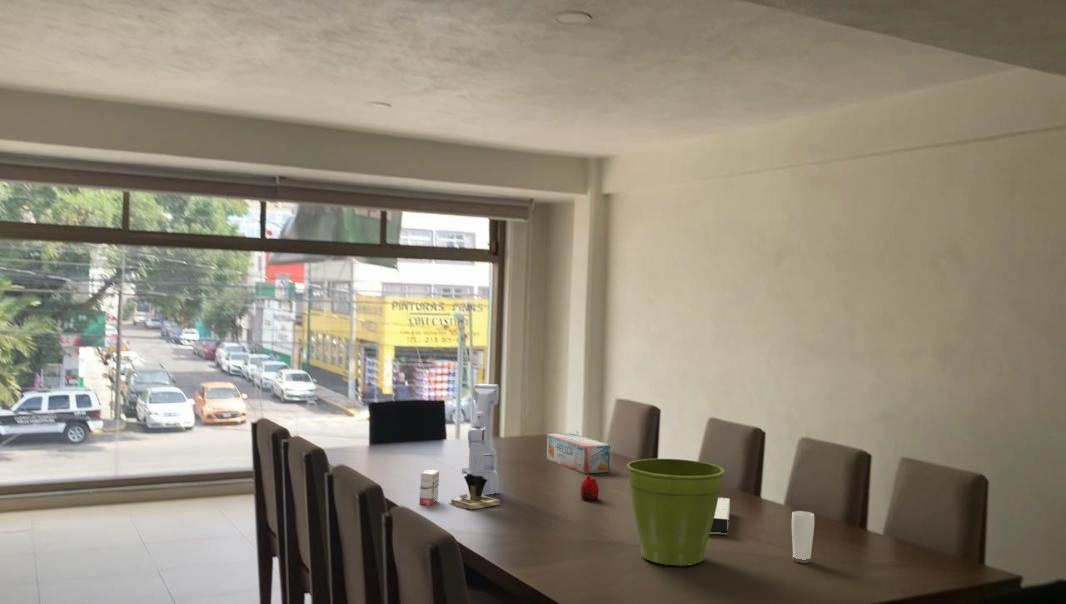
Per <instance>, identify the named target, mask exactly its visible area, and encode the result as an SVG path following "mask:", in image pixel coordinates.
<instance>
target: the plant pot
mask: <svg viewBox="0 0 1066 604" xmlns="http://www.w3.org/2000/svg"><path fill="white" fill-rule="evenodd" d="M626 467H627V469H628V474H629V476H628V477H629V484H630V492H631V501H632V506H633V507H632V508H633V515H634V519H635V524H636V529H637V534H638V539H639V541H640V553H641V554H640V555H641V557H642V558H644V559H645V560H646V559H647V561H648V560H649V562H650V561H652V562H651V563H653V562H655V563H654V564H657V563H660V564H659V565H662V564H667V565H666V566H668V565H688V564H695V563H699V562H701V561H702V562H703V561H704V558H705V549H706V547H707V543H708V541H709V537H710V535H711V534H710V531H711V527H712V524H713V520H714V516H715V511H716V507H717V502H718V498H719V495H720V491H721V488H722V479H723V475H725V469H724V468H723V467H721V466H718V465H715V464H713V463H708V462H703V461H697V460H691V459H689V460H688V459H679V458H645V459H637V460H632V461H629V462H628V463H627V464H626ZM702 562H701V563H702ZM699 564H700V563H699Z"/></svg>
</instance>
